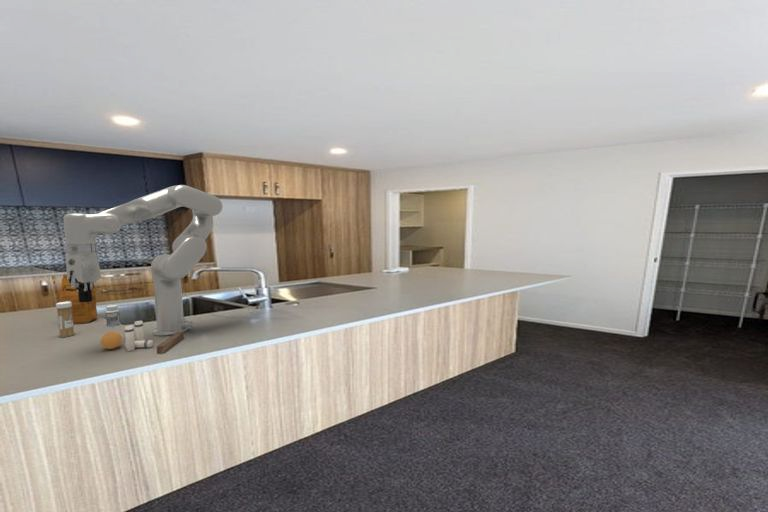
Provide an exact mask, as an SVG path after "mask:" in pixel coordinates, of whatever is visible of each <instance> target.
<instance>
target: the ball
mask: <svg viewBox="0 0 768 512" xmlns="http://www.w3.org/2000/svg"><path fill="white" fill-rule="evenodd" d="M122 342H123V336H122V335H121V334H120V333H119V332H116V331H109V332H107V333H105V334H104V335H103V336H102V337H101V339H100V344H101V346H102V348H104V349H106V350H115V349H117V348H118V347H119V346H120V345H121V344H122Z"/></svg>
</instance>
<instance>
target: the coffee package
mask: <svg viewBox="0 0 768 512" xmlns="http://www.w3.org/2000/svg"><path fill="white" fill-rule="evenodd" d="M94 284H95V283H94ZM94 284H93V285H92V290H91V291H92V301H90V302H79V294H78V291H77V289H76V288H72V287H71V283H69V282H68V280H67V273H64V274H63V275H62V279H61V285H60V291H59V303H60V302H71V303H72V306H71V310H72V317H73V325H80V324H87V323H91V321H93V320H95V319H97V318H98V317H99V316H98V309H97V293H96V292H97V291H96V287H95V285H94Z"/></svg>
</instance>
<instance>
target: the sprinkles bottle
mask: <svg viewBox="0 0 768 512" xmlns="http://www.w3.org/2000/svg"><path fill="white" fill-rule="evenodd" d="M71 306H72V303H71V302H60V301H59V302H57V303H56V304H55V308H56V310H57V311H56V312H57V323H58V329H59V330H58V331H59V337H61V338H67V337H71V336H74V335H75V332H74V324H73V317H72V310H71Z"/></svg>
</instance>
